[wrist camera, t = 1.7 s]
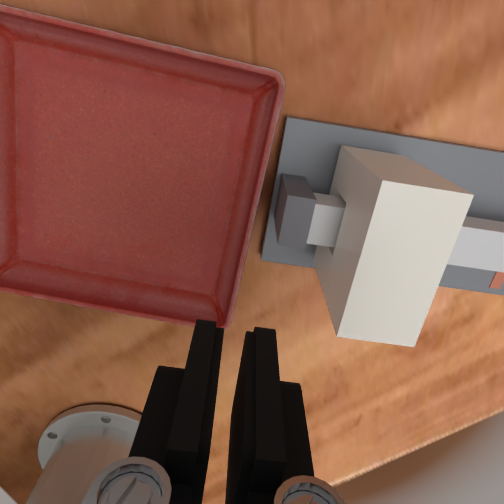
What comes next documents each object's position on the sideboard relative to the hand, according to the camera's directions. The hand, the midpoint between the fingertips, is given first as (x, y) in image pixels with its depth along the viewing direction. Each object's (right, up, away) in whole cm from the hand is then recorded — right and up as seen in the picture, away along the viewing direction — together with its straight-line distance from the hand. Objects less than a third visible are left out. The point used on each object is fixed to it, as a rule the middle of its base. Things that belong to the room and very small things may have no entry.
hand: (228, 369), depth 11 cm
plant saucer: (-8, +8, +18) cm, 21 cm away
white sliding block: (+7, +6, +16) cm, 18 cm away
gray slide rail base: (+13, +6, +18) cm, 23 cm away
